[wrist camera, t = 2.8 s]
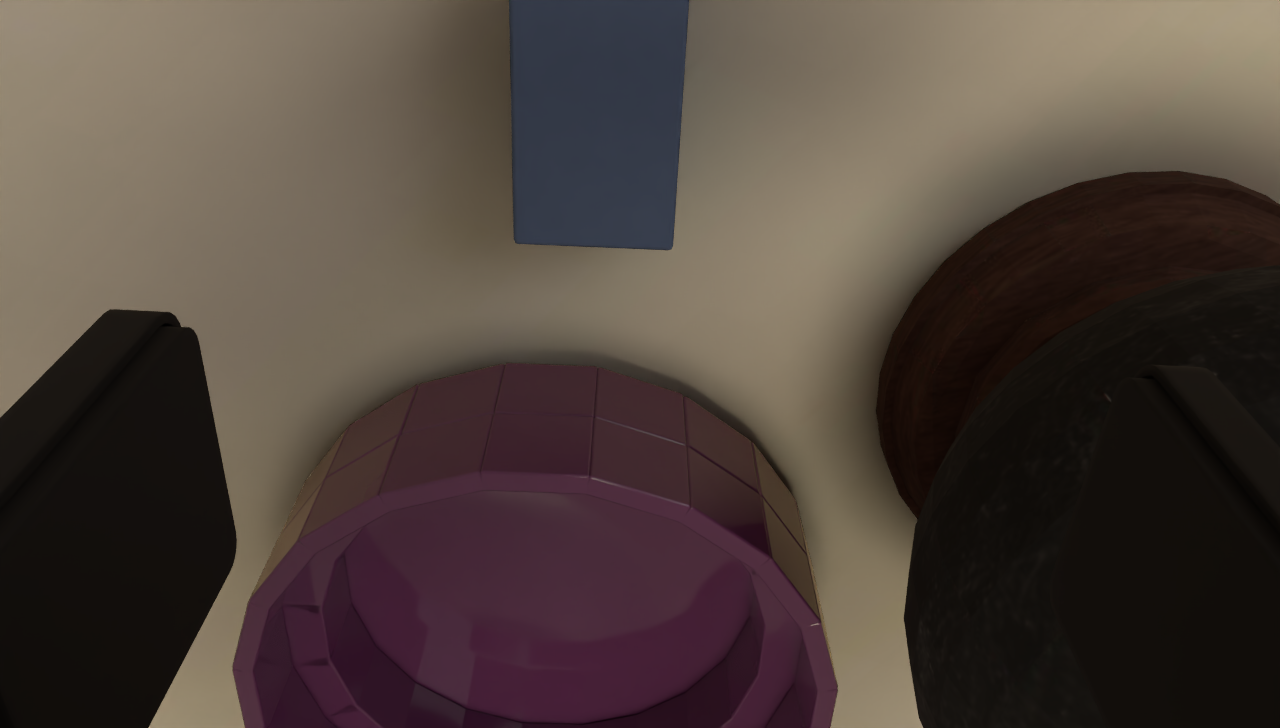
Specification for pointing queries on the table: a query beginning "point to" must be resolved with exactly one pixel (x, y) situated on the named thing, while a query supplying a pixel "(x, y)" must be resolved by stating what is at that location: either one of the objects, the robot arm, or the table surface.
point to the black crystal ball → (1053, 410)
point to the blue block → (596, 120)
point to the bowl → (538, 569)
